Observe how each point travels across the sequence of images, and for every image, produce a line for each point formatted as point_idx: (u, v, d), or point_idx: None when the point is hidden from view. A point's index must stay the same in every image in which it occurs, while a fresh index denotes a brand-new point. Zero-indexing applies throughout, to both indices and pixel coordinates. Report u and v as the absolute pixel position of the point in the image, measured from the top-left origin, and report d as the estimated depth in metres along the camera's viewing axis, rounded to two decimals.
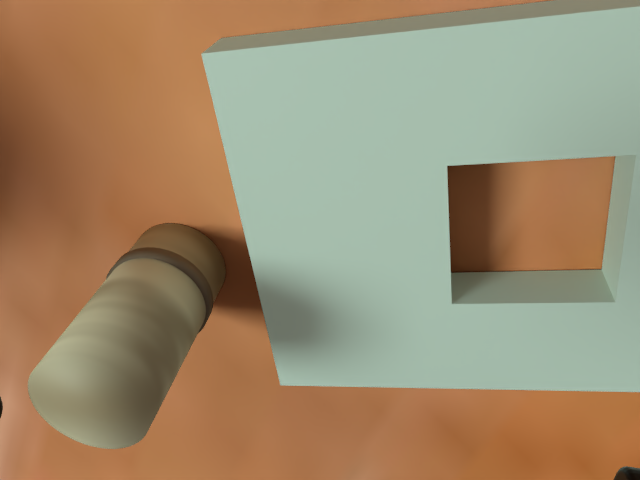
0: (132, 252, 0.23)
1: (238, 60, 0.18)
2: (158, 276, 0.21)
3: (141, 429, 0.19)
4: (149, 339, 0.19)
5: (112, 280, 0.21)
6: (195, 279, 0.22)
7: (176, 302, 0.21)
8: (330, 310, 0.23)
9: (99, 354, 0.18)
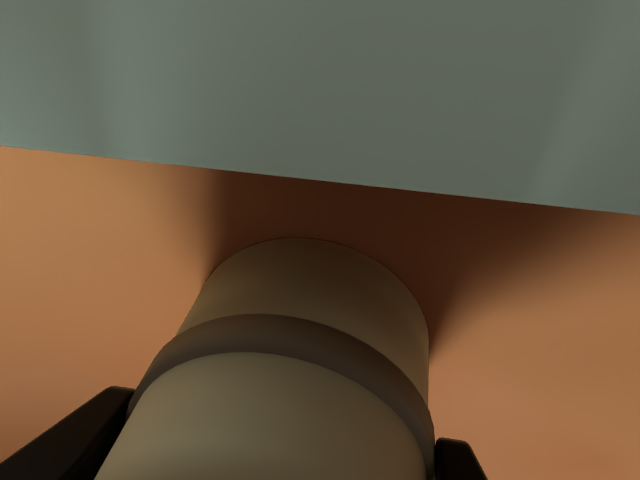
0: None
1: None
2: None
3: None
4: None
5: None
6: (206, 348, 0.07)
7: (140, 459, 0.06)
8: None
9: None
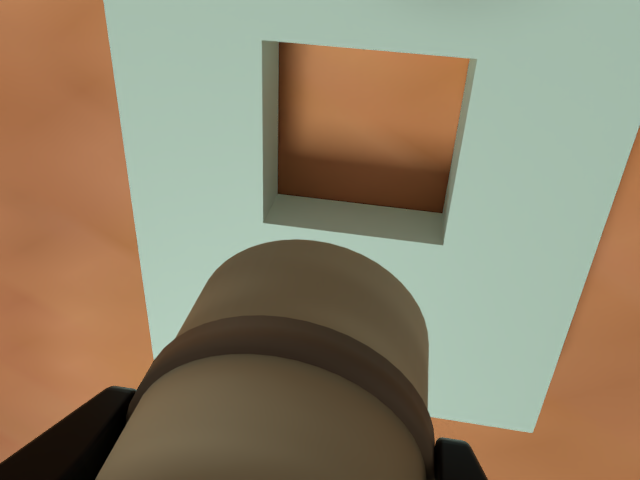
0: None
1: None
2: (113, 450, 0.07)
3: None
4: None
5: None
6: (206, 350, 0.07)
7: (140, 462, 0.06)
8: (429, 359, 0.20)
9: None
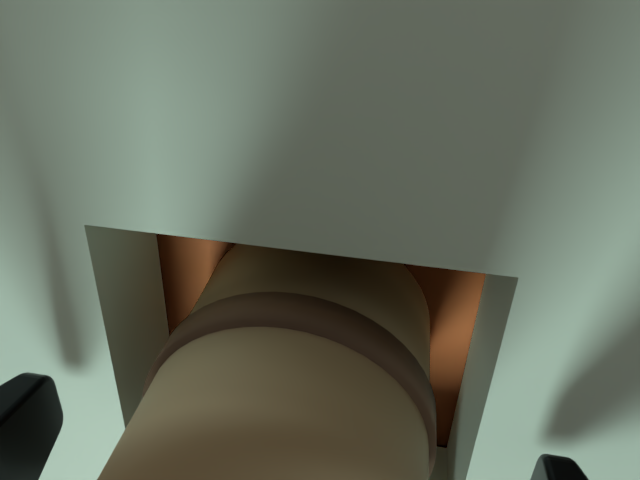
0: None
1: None
2: None
3: None
4: None
5: None
6: (220, 323, 0.08)
7: (161, 423, 0.06)
8: None
9: None
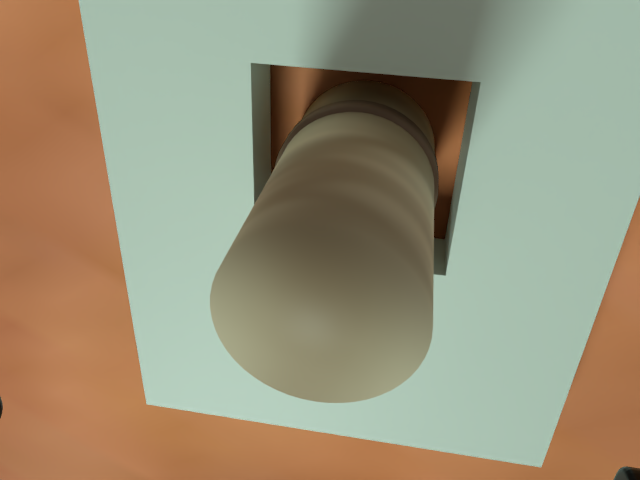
0: None
1: (151, 383, 0.21)
2: (280, 159, 0.14)
3: (382, 258, 0.10)
4: (278, 186, 0.11)
5: None
6: (324, 114, 0.14)
7: (305, 142, 0.13)
8: (432, 392, 0.19)
9: None
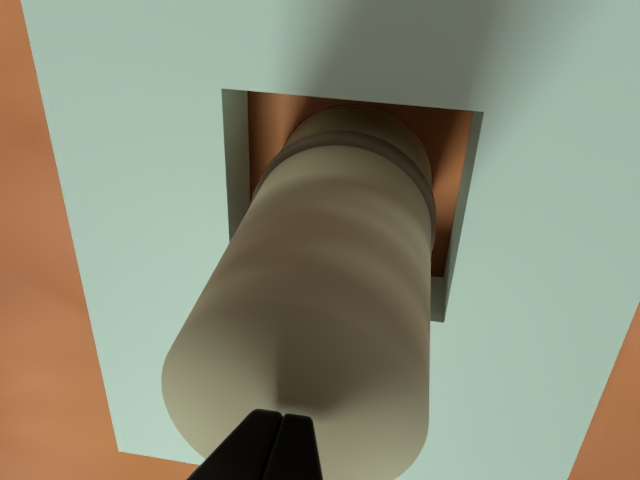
0: None
1: (122, 429, 0.19)
2: (254, 199, 0.12)
3: (366, 344, 0.08)
4: (246, 244, 0.10)
5: None
6: (304, 148, 0.13)
7: (281, 183, 0.11)
8: (429, 444, 0.17)
9: (178, 335, 0.09)
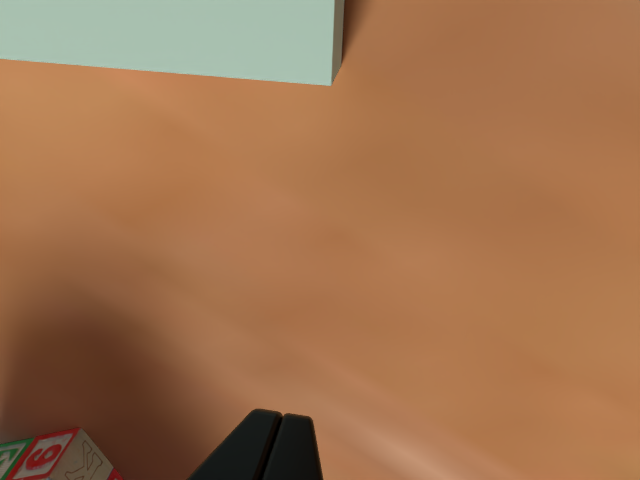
0: None
1: None
2: None
3: None
4: None
5: None
6: None
7: None
8: None
9: None
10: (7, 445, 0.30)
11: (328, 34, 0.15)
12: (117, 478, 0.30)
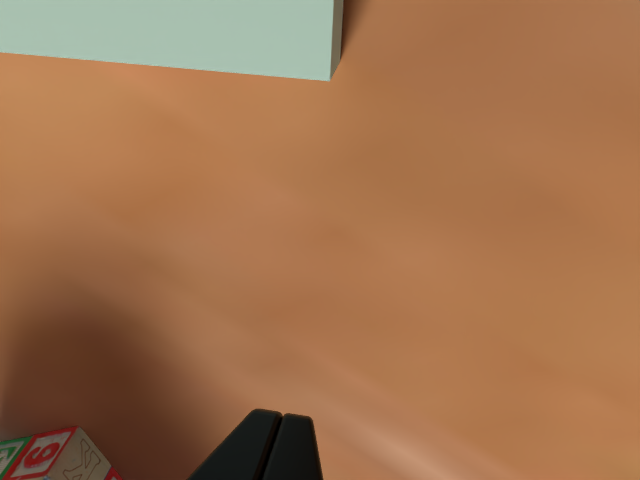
0: None
1: None
2: None
3: None
4: None
5: None
6: None
7: None
8: None
9: None
10: (4, 444, 0.30)
11: (327, 29, 0.15)
12: (115, 476, 0.30)
